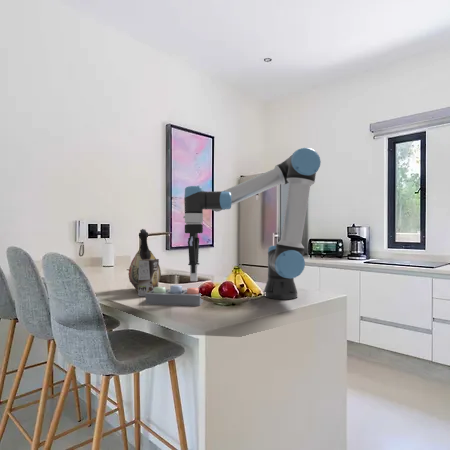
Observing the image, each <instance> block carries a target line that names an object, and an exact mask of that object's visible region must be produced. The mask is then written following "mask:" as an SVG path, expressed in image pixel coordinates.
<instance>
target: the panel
mask: <svg viewBox="0 0 450 450" xmlns="http://www.w3.org/2000/svg"><path fill="white" fill-rule="evenodd" d="M201 295H202V294H201V293H199V294H187V289H182V294H176V293H170V289H167V288H166V293H154V290H152V291H150V292H148V293H147V294H146V296H145V305H167V306H194V307H195V306H197V307H200V306H201V305H202V304H203V302H204V301H203V300H202V299H201V298H200V297H201Z"/></svg>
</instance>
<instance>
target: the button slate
mask: <svg viewBox="0 0 450 450" xmlns="http://www.w3.org/2000/svg"><path fill="white" fill-rule="evenodd" d="M182 290H183V286H182V285H181V284H173V285H170V293H176V294H182Z"/></svg>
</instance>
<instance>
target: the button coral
mask: <svg viewBox="0 0 450 450" xmlns="http://www.w3.org/2000/svg"><path fill="white" fill-rule="evenodd" d="M186 290H187V294H199V290H200V288H199V287H188V288H187V289H186Z"/></svg>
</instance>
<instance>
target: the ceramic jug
mask: <svg viewBox="0 0 450 450" xmlns="http://www.w3.org/2000/svg"><path fill="white" fill-rule="evenodd" d="M138 237H139V239H140V247H139V248H138V250H137V252H136V254H135V255H134V256H133V258H132V260H131V263H130V265H129V268H128V280H129V283H131V285H132V286H133V287H134V289H135V291H136V292H138V281H139V280H138V279H139V260H144V259H157V258H156V257H155V254H154V253H153V252H152V251H151V250H150V248H149V245H148V237H149V233H148V232H147V230H146V228H145V229H144V228H142V229H140V232H138ZM161 277H162V271H161V267H160V265H159V273H158V283H160V281H161Z"/></svg>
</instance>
